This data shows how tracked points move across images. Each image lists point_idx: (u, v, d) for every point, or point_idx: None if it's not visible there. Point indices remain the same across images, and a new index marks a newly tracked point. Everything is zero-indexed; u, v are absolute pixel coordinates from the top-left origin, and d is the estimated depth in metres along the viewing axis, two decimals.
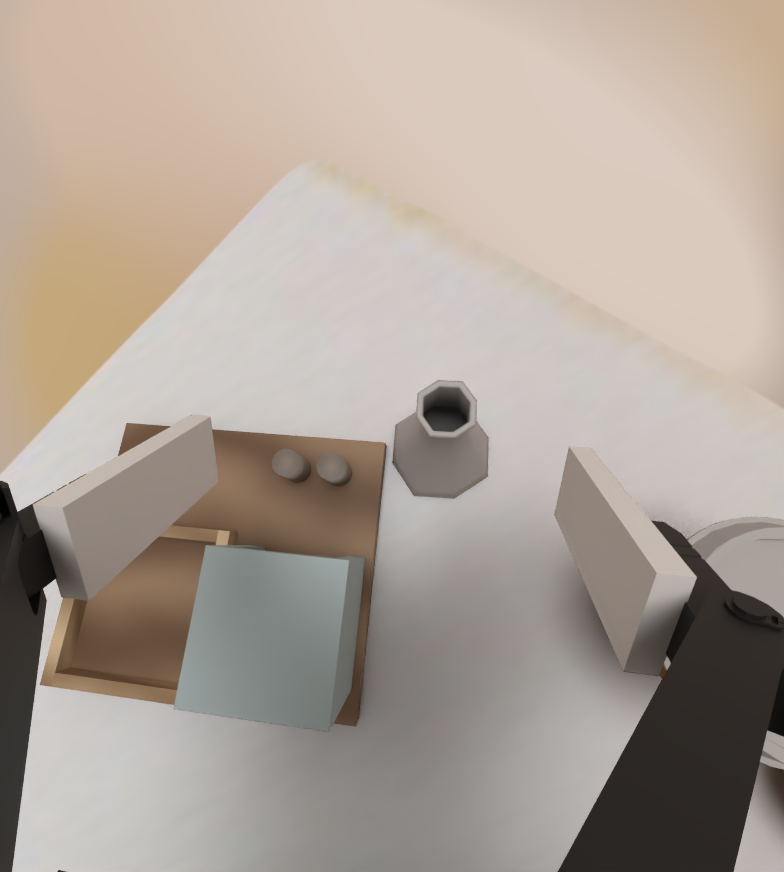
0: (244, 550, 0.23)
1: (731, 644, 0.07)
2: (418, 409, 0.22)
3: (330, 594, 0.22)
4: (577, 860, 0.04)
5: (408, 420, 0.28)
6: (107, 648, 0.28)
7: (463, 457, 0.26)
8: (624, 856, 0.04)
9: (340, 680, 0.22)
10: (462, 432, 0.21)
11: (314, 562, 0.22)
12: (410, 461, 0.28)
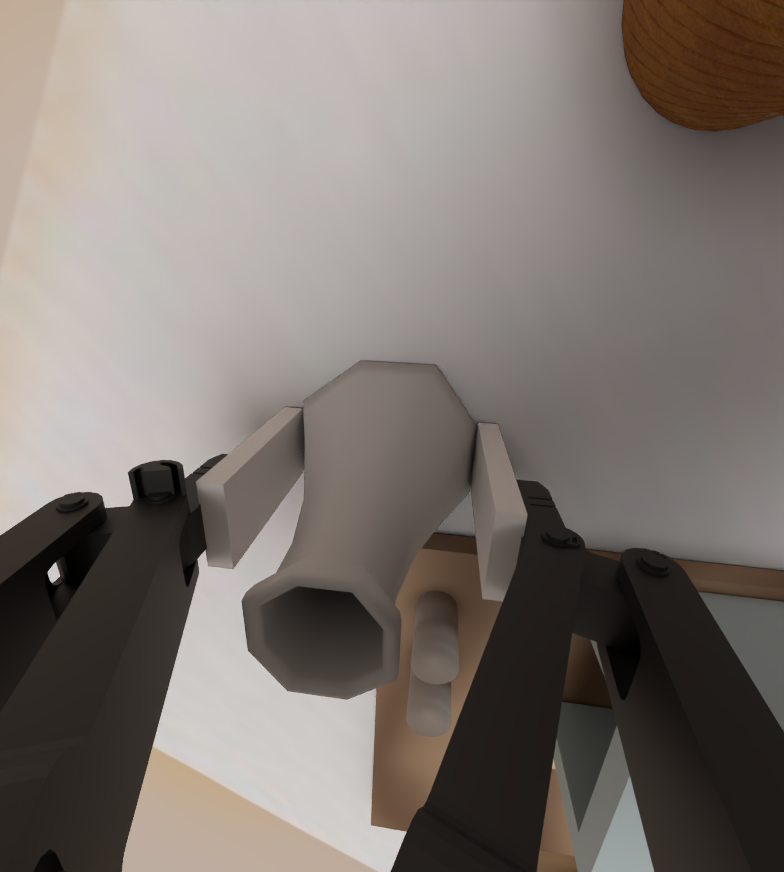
0: (599, 856, 0.13)
1: (547, 566, 0.09)
2: (328, 693, 0.09)
3: None
4: (445, 775, 0.05)
5: None
6: None
7: (416, 469, 0.12)
8: (480, 757, 0.05)
9: None
10: (384, 613, 0.08)
11: None
12: None
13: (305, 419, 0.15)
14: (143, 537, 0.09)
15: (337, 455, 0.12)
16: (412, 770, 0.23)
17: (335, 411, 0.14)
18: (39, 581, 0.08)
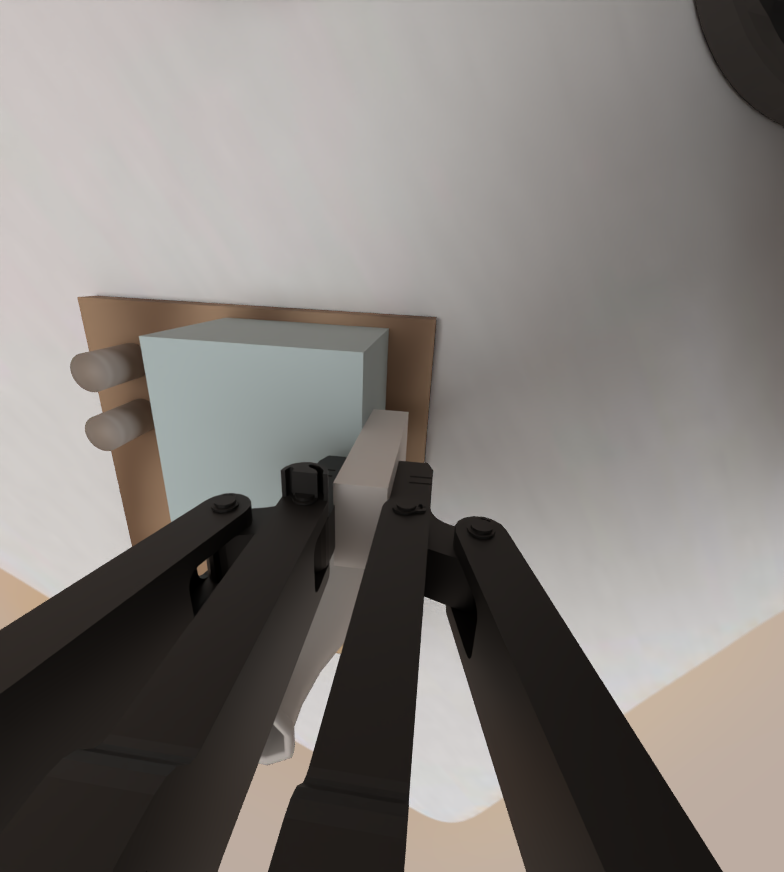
0: (165, 482, 0.17)
1: (399, 534, 0.09)
2: None
3: (189, 360, 0.15)
4: (322, 746, 0.05)
5: None
6: None
7: (325, 617, 0.20)
8: (353, 718, 0.06)
9: (324, 340, 0.16)
10: (283, 728, 0.16)
11: (155, 387, 0.15)
12: None
13: None
14: (283, 538, 0.09)
15: None
16: None
17: None
18: (184, 582, 0.09)
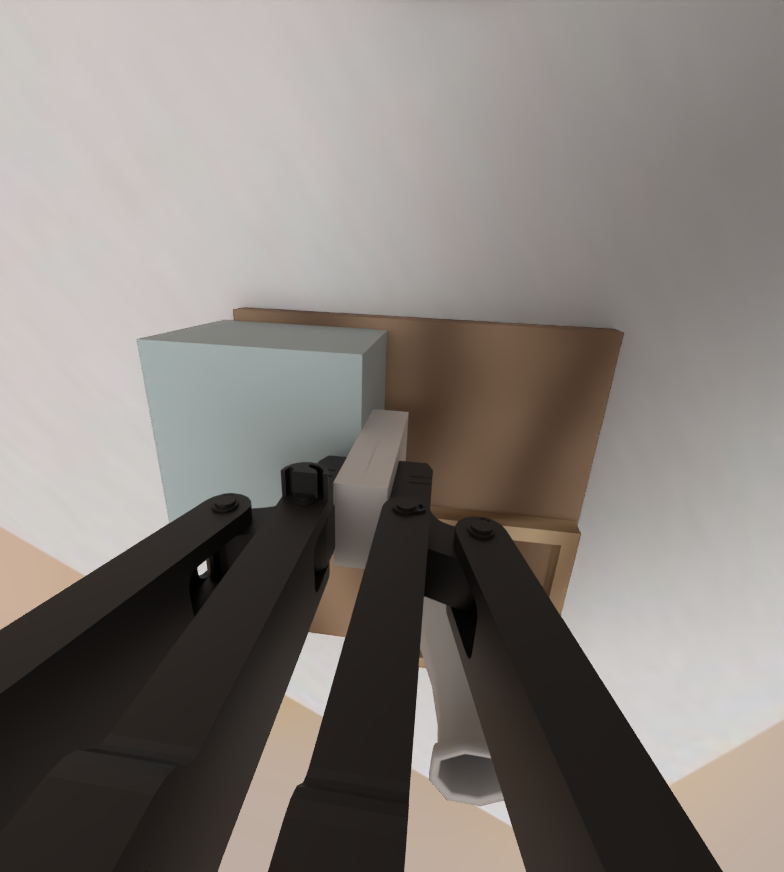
0: (164, 485, 0.17)
1: (399, 534, 0.09)
2: (470, 802, 0.16)
3: (187, 363, 0.15)
4: (322, 747, 0.05)
5: None
6: None
7: None
8: (353, 719, 0.06)
9: (323, 342, 0.16)
10: None
11: (153, 390, 0.15)
12: None
13: None
14: (283, 538, 0.09)
15: (452, 633, 0.19)
16: None
17: None
18: (184, 581, 0.09)
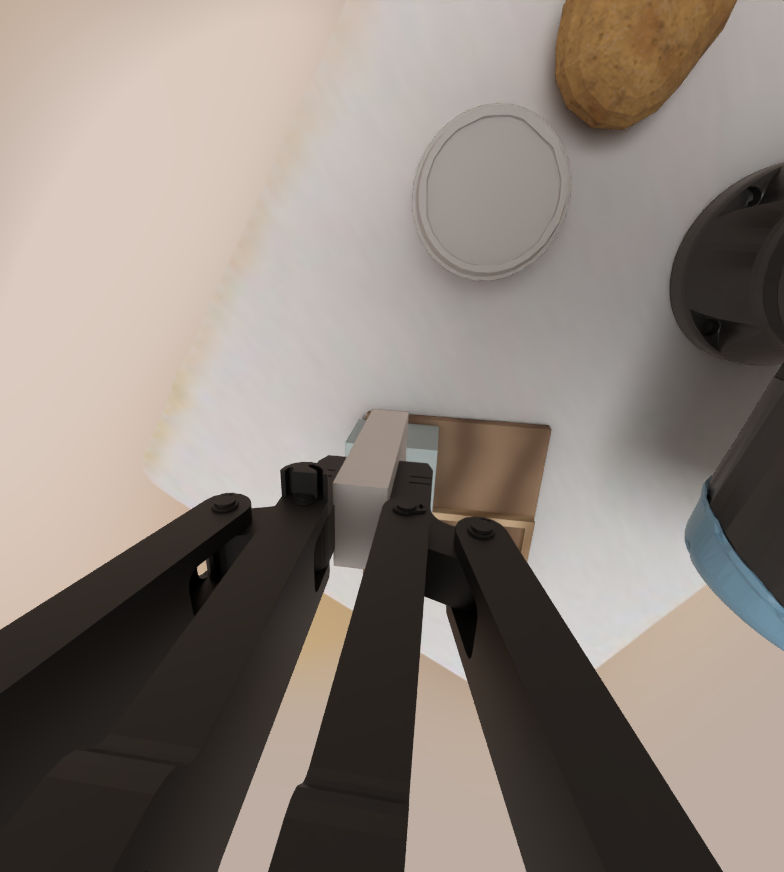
0: None
1: (399, 534, 0.09)
2: None
3: None
4: (322, 747, 0.05)
5: None
6: None
7: None
8: (353, 719, 0.06)
9: (417, 441, 0.38)
10: None
11: None
12: None
13: None
14: (283, 538, 0.09)
15: None
16: None
17: None
18: (183, 582, 0.09)
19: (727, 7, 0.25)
